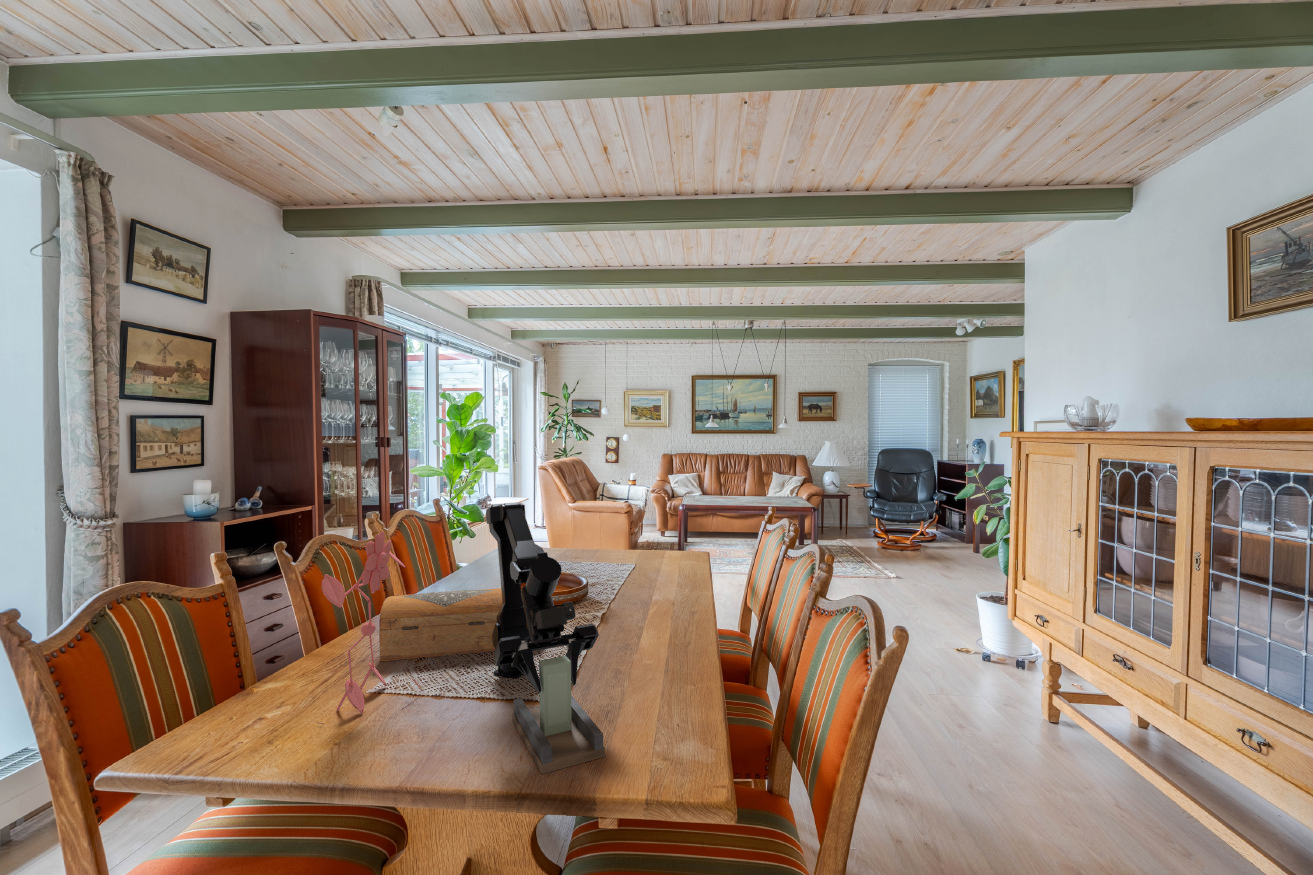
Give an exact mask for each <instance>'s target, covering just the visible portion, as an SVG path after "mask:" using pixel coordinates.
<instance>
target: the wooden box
mask: <svg viewBox="0 0 1313 875" xmlns="http://www.w3.org/2000/svg"><path fill="white" fill-rule="evenodd" d="M501 606H502V592H501V587H499V588H498V587H497V588H484V589H483V588H481V589H463V590H462V589H461V590H451V591H447V590H445V591H438V592H423V593H414V594H413V593H411V594H402V595H401V594H400V595H390V596H388V597H386V598H385V599H384V601H383V603H382V606H381V608H380V614H379V623H378V625H379V630H378V632H379V633H378V634H379V635H378V636H379V637H378V638H379V661H380V662H391V661H400V660H412V659H423V658H422V657H425V658H432V657H433V658H434V657H435V658H436V656H437V657H446V656H445V655H448V656H455V654H458V655H468V654H467V653H469V654H479V653H488V652H489V653H490V652H491V653H492V652H495V650H496V649H495V647H494V646H493V642H492V634H493V630H494V626H495V624H496V623H497V618H496V617H497V614H498V612H499V610H500V608H501ZM419 657H420V658H419Z"/></svg>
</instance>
